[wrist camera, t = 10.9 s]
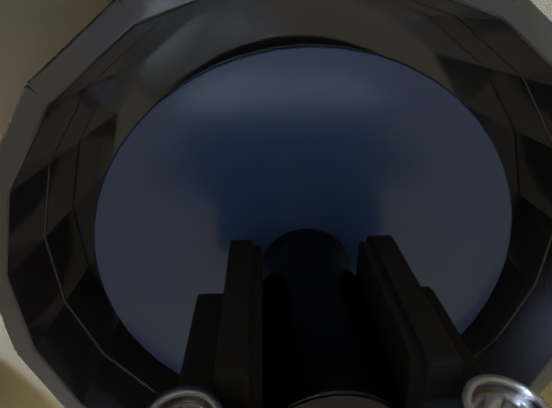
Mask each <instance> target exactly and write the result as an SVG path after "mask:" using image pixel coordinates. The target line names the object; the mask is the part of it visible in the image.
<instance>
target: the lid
mask: <svg viewBox="0 0 552 408" xmlns="http://www.w3.org/2000/svg"><path fill="white" fill-rule="evenodd" d="M512 214H513V212H512V202H511V192H510V186H509V182H508V179H507V175H506V171H505V167H504V164H503V161H502V159H501V157H500V155H499V153H498V150H497V148H496V146H495V144H494V142H493V140H492V138H491V137H490V135H489V134H488V132H487V131H486V129H485V128H484V126H483V125H482V123H481V122H480V120H479V119H478V118H477V116H476V115H475V114H474V113H473V112H472V111H471V110H470V109H469V108H468V107H467V106H466V105H465V104H464V103H463V102H462V101H461V100H460V99H459V97H457V96H456V95H455V94H453V93H452V92H451V91H449V90H448V89H447V88H445V87H444V86H443V85H442V84H440V83H439V82H438V81H436V80H435V79H433V78H431V77H430V76H428V75H426V74H424V73H422V72H420V71H418V70H417V69H415V68H413V67H411V66H409V65H407V64H405V63H402V62H400V61H397V60H394V59H391V58H388V57H386V56H383V55H380V54H377V53H374V52H371V51H366V50H361V49H356V48H351V47H346V46H341V45H323V44H298V45H287V46H276V47H271V48H266V49H262V50H258V51H253V52H249V53H245V54H241V55H239V56H236V57H233V58H231V59H228V60H226V61H223V62H220V63H218V64H215V65H213V66H210V67H209V68H207V69H205V70H203V71H202V72H200V73H198V74H196V75H194V76H193V77H191V78H189V79H187V80H185V81H184V82H182V83H181V84H180V85H178V86H177V87H176V88H174V89H173V90H172V91H171V92H169V93H168V94H167V95H165V96H164V97H163V98H161V99H160V100H159V101H158V102H157V103H156V104H155V105H154V106H153V107H152V108H151V109H150V110H149V111H148V112H147V113H146V114H145V115H144V116H143V117H142V118H141V119H140V120H139V121H138V122H137V123H136V124H135V125H134V127H133V128H132V129H131V131H130V132H129V134H128V135H127V136H126V138H125V139H124V141H123V142H122V143H121V145H120V146H119V148H118V149H117V151H116V153H115V155H114V157H113V159H112V161H111V163H110V165H109V167H108V169H107V171H106V173H105V176H104V179H103V182H102V185H101V189H100V192H99V195H98V198H97V204H96V211H95V218H94V251H95V257H96V263H97V268H98V273H99V276H100V279H101V282H102V285H103V288H104V291H105V294H106V296H107V298H108V300H109V302H110V303H111V305H112V307H113V309H114V311H115V313H116V315H117V316H118V318H119V319H120V320H121V322H122V323H123V325H124V326H125V328H126V329H127V330H128V332H129V333H130V334H131V335H132V336H133V337H134V338H135V339H136V340H137V342H138V343H139V344H140V345H141V346H142V347H143V348H144V349H145V350H146V351H148V352H149V353H150V354H151V355H152V356H153V357H155V358H156V359H157V360H158V361H159V362H161V363H162V364H164V365H165V366H167V367H168V368H170V369H171V370H173V371H174V372H176V373H177V374H179V375H180V373H181V369H182V364H183V360H184V355H185V350H186V346H187V341H188V337H189V332H190V327H191V323H192V318H193V314H194V309H195V304H196V300H197V297H198V295H199V294H217V293H224V286H225V278H226V270H227V262H228V254H229V246H230V240H250V239H252V240H253V245H261V255H262V285H263V408H401V405H400V402H399V399H398V396H397V394H396V391H395V388H394V385H393V382H392V379H391V376H390V374H389V371H388V368H387V365H386V362H385V359H384V357H383V354H382V351H381V348H380V345H379V342H378V340H377V337H376V334H375V331H374V328H373V325H372V322H371V320H370V317H369V314H368V311H367V308H366V305H365V303H364V300H363V297H362V294H361V291H360V288H359V285H358V283H357V280H356V271H357V260H358V249H359V243H360V242H366V239H367V237H368V236H380V235H391V236H392V237H393V239H394V240H395V242H396V244H397V246H398V247H399V249H400V251H401V253H402V254H403V256H404V258H405V260H406V261H407V263H408V265H409V267H410V268H411V270H412V272H413V274H414V275H415V277H416V279H417V281H418V282H419V284H420V286H421V287H424V286H428V287H430V288H431V289H432V290H433V291H434V292H435V294H436V296H437V297H438V299H439V301H440V302H441V304H442V306H443V307H444V309H445V311H446V312H447V314H448V315H449V317H450V319H451V320H452V322H453V324H454V325H455V327H456V329H457V330H458V332H459V334H460V335H462V333H463V332H464V331H465V330H466V329H467V328H468V327H469V325H470V324H471V323H472V322H473V321H474V320H475V319H476V317H477V316H478V314H479V313H480V311H481V310H482V308H483V307H484V306H485V304H486V303H487V301H488V300H489V298H490V296H491V294H492V292H493V290H494V288H495V286H496V284H497V282H498V280H499V278H500V275H501V272H502V270H503V267H504V264H505V261H506V258H507V254H508V249H509V244H510V239H511V231H512Z"/></svg>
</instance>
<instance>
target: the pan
mask: <svg viewBox="0 0 552 408" xmlns="http://www.w3.org/2000/svg"><path fill="white" fill-rule="evenodd" d="M298 44H323V45H341V46H346V47H351V48H356V49H361V50H366V51H371V52H374V53H377V54H380V55H383V56H386V57H388V58H391V59H394V60H397V61H400V62H402V63H405V64H407V65H409V66H411V67H413V68H415V69H417V70H418V71H420V72H422V73H424V74H426V75H428V76H430V77H431V78H433V79H435V80H436V81H438V82H439V83H440V84H442V85H443V86H444V87H445V88H447V89H448V90H449V91H451V92H452V93H453V94H455V95H456V96H457V97H459V99H460V100H461V101H462V102H463V103H464V104H465V105H466V106H467V107H468V108H469V109H470V110H471V111H472V112H473V113H474V114H475V115H476V116H477V118H478V119H479V120H480V122H481V123H482V125H483V126H484V128H485V129H486V131H487V132H488V134H489V135H490V137H491V138H492V140H493V142H494V144H495V146H496V148H497V150H498V153H499V155H500V157H501V159H502V161H503V164H504V167H505V171H506V175H507V179H508V182H509V186H510V192H511V202H512V212H513V214H512V231H511V239H510V244H509V249H508V254H507V258H506V261H505V264H504V267H503V270H502V272H501V275H500V278H499V280H498V282H497V284H496V286H495V288H494V290H493V292H492V294H491V296H490V298H489V300H488V301H487V303H486V304H485V306H484V307H483V308H482V310H481V311H480V313H479V314H478V316H477V317H476V319H475V320H474V321H473V322H472V323H471V324H470V325H469V327H468V328H467V329H466V330H465V331H464V332H463V333H462V335H461V337H462V339H463V340H464V342H465V343H466V345H467V347H468V348H469V350H470V352H471V353H472V355H473V357H474V358H475V360H476V362H477V363H478V365H479V367H480V368H481V370H482V371H483V373H484V374H495V375H503V376H506V377H509V378H512V379H515V380H517V381H519V382H521V383H523V384H524V385H526V386H528V387H530V388H531V389H533V390H534V391H535V392H536V393H538V394H539V393H540V392H541V391H542V390H544V389H545V388H546V386H547V385H548V384H549V383H550V382H551V380H552V22H551V21H550V20H549V19H548V18H547V17H546V16H545V15H544V14H543V13H542V12H541V11H540V10H539V9H538V8H537V7H536V6H535V5H534V4H533V3H532V2H531V1H530V0H113V1H112V2H111V3H110V4H109V5H108V6H107V7H106V8H104V9H103V10H102V11H101V12H100V13H99V14H98V15H97V16H96V17H95V18H94V19H93V20H92V21H91V22H90V23H89V24H88V25H87V26H86V27H85V28H84V29H83V30H81V31H80V32H79V33H78V34H77V35H76V36H75V37H74V38H73V39H72V40H71V41H70V42H69V43H68V44H67V45H66V46H65V47H64V48H63V49H62V50H61V51H60V52H58V53H57V54H56V55H55V56H54V57H53V58H52V59H51V60H50V61H49V62H48V63H47V64H46V65H45V66H44V67H43V68H42V69H41V70H40V71H39V72H38V73H37V74H35V75H34V76H33V77H32V78H31V79H30V80H29V81H28V83H27V85H26V86H25V87H24V90H23V92H22V94H21V97H20V99H19V101H18V104H17V106H16V108H15V111H14V113H13V115H12V118H11V120H10V122H9V125H8V127H7V129H6V132H5V134H4V136H3V139H2V141H1V143H0V315H1V317H2V320H3V322H4V325H5V327H6V329H7V332H8V334H9V337H10V339H11V341H12V344H13V346H14V349H15V351H17V354H18V355H19V356H20V357H21V358H22V360H23V361H24V362H25V363H26V364H27V365H28V366H29V368H30V369H31V370H32V371H33V372H34V373H35V374H36V376H37V377H38V378H39V379H40V380H41V381H42V382H43V383H44V385H45V386H46V387H47V388H48V389H49V390H50V391H51V393H52V394H53V395H54V396H55V397H56V398H57V399H58V401H59V402H60V403H61V404H62V405H63V406H64V407H65V408H146V407H147V406H148V404H149V403H150V402H151V401H153V400H154V399H155V398H156V397H158V396H159V395H160V394H162V393H164V392H166V391H168V390H171V389H173V388H177V387H178V383H179V378H180V375H179V374H177V373H176V372H174V371H173V370H171V369H170V368H168V367H167V366H165V365H164V364H162V363H161V362H159V361H158V360H157V359H156V358H155V357H153V356H152V355H151V354H150V353H149V352H148V351H146V350H145V349H144V348H143V347H142V346H141V345H140V344H139V343H138V342H137V340H136V339H135V338H134V337H133V336H132V335H131V334H130V333H129V332H128V330H127V329H126V328H125V326H124V325H123V323H122V322H121V320H120V319H119V318H118V316H117V315H116V313H115V311H114V309H113V307H112V305H111V303H110V302H109V300H108V298H107V296H106V294H105V291H104V288H103V285H102V282H101V279H100V276H99V273H98V268H97V263H96V257H95V251H94V218H95V211H96V204H97V198H98V195H99V192H100V189H101V185H102V182H103V179H104V176H105V173H106V171H107V169H108V167H109V165H110V163H111V161H112V159H113V157H114V155H115V153H116V151H117V149H118V148H119V146H120V145H121V143H122V142H123V141H124V139H125V138H126V136H127V135H128V134H129V132H130V131H131V129H132V128H133V127H134V125H135V124H136V123H137V122H138V121H139V120H140V119H141V118H142V117H143V116H144V115H145V114H146V113H147V112H148V111H149V110H150V109H151V108H152V107H153V106H154V105H155V104H156V103H157V102H158V101H159V100H160V99H161V98H163V97H164V96H165V95H167V94H168V93H169V92H171V91H172V90H173V89H174V88H176V87H177V86H178V85H180V84H181V83H182V82H184V81H185V80H187V79H189V78H191V77H193V76H194V75H196V74H198V73H200V72H202V71H203V70H205V69H207V68H209V67H210V66H213V65H215V64H218V63H220V62H223V61H226V60H228V59H231V58H233V57H236V56H239V55H241V54H245V53H249V52H253V51H258V50H262V49H266V48H271V47H276V46H287V45H298Z"/></svg>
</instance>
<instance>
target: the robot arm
mask: <svg viewBox="0 0 552 408" xmlns="http://www.w3.org/2000/svg"><path fill="white" fill-rule="evenodd" d="M356 280H357V283H358V285H359V288H360V291H361V294H362V297H363V300H364V303H365V305H366V308H367V311H368V314H369V317H370V320H371V322H372V325H373V328H374V331H375V334H376V337H377V340H378V342H379V345H380V348H381V351H382V354H383V357H384V359H385V362H386V365H387V368H388V371H389V374H390V376H391V379H392V382H393V385H394V388H395V391H396V394H397V396H398V399H399V402H400V405H401V408H551V407H550V406H549V404H548V403H547V402H546V401H545V400H544V399H543V397H541V396H540V395H539V394H538V393H536V392H535V391H534V390H533V389H531V388H530V387H528V386H526V385H524V384H523V383H521V382H519V381H517V380H515V379H512V378H509V377H506V376H503V375H495V374H484V373H483V371H482V370H481V368H480V367H479V365H478V363H477V362H476V360H475V358H474V357H473V355H472V353H471V352H470V350H469V348H468V347H467V345H466V343H465V342H464V340H463V339H462V337H461V335H460V334H459V332H458V330H457V329H456V327H455V325H454V324H453V322H452V320H451V319H450V317H449V315H448V314H447V312H446V311H445V309H444V307H443V306H442V304H441V302H440V301H439V299H438V297H437V296H436V294H435V292H434V291H433V290H432V289H431V288H430V287H428V286H424V287H421V286H420V284H419V282H418V281H417V279H416V277H415V275H414V274H413V272H412V270H411V268H410V267H409V265H408V263H407V261H406V260H405V258H404V256H403V254H402V253H401V251H400V249H399V247H398V246H397V244H396V242H395V240H394V239H393V237H392V236H391V235H380V236H368V237H367V239H366V242H360V243H359V249H358V260H357V271H356ZM146 408H263V285H262V255H261V245H253V240H252V239H250V240H230V246H229V254H228V262H227V270H226V278H225V286H224V293H217V294H199V295H198V297H197V300H196V304H195V309H194V314H193V318H192V323H191V327H190V332H189V337H188V341H187V346H186V350H185V355H184V360H183V364H182V369H181V373H180V378H179V383H178V387H177V388H173V389H171V390H168V391H166V392H164V393H162V394H160V395H159V396H158V397H156V398H155V399H154V400H153V401H151V402H150V403H149V404H148V406H147V407H146Z"/></svg>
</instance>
